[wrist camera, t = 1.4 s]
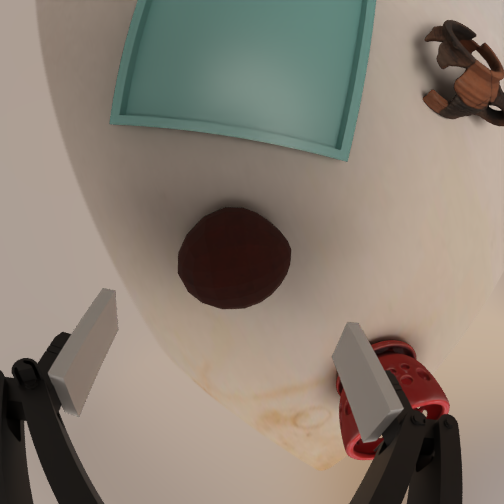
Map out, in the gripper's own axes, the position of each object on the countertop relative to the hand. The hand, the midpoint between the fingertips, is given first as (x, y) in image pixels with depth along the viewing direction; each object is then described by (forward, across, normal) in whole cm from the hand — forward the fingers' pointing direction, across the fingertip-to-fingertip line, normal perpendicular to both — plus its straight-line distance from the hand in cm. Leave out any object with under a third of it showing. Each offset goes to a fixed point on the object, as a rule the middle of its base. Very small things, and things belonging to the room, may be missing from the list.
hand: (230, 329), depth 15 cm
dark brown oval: (+12, 0, 0) cm, 13 cm away
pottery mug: (+12, +19, +22) cm, 31 cm away
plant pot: (+13, +21, -15) cm, 29 cm away
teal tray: (+12, -2, +19) cm, 23 cm away
